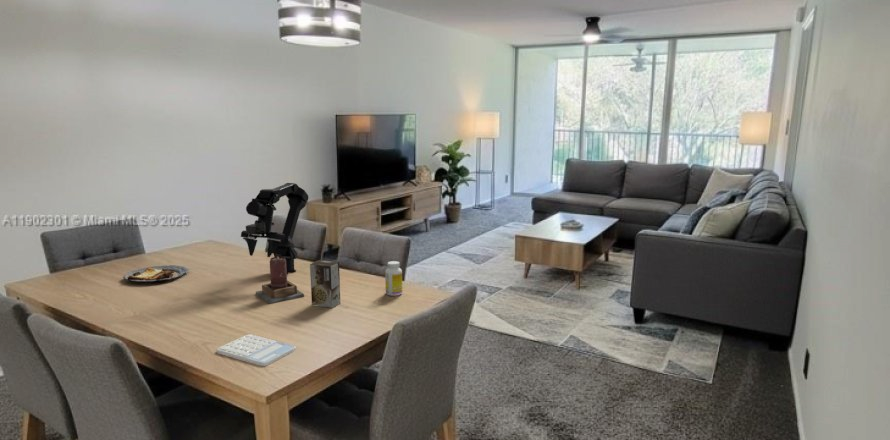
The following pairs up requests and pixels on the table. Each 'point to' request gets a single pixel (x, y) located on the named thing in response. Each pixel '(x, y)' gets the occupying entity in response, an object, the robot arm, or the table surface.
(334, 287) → the coffee box
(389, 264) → the supplement bottle
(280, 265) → the can
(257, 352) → the calculator
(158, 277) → the food plate
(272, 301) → the collar
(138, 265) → the table surface
